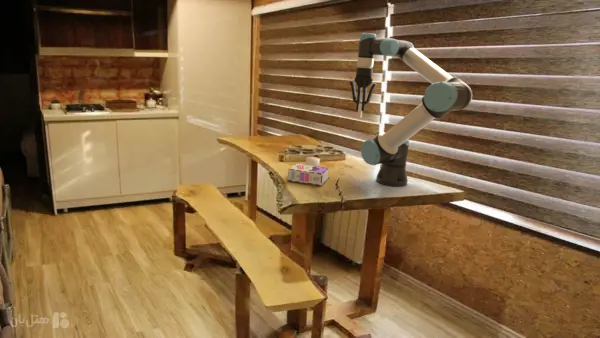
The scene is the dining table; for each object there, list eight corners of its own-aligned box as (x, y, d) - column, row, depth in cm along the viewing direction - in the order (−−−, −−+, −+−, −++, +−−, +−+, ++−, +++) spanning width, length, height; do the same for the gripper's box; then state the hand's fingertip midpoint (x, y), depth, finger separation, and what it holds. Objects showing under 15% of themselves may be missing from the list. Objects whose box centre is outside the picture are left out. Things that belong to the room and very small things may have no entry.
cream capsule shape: (320, 171, 239) (322, 158, 237) (315, 174, 233) (316, 160, 231) (308, 169, 242) (309, 156, 240) (302, 171, 235) (304, 158, 234)
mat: (329, 178, 227) (329, 177, 226) (316, 186, 210) (316, 185, 210) (306, 174, 231) (306, 173, 231) (292, 181, 215) (292, 181, 214)
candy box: (322, 173, 208) (287, 168, 212) (321, 186, 210) (287, 181, 214) (328, 167, 222) (295, 162, 225) (327, 179, 223) (294, 174, 227)
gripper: (380, 68, 218) (374, 118, 223) (353, 66, 223) (348, 115, 228) (376, 68, 211) (370, 119, 217) (349, 66, 216) (344, 116, 221)
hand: (359, 117), depth 222 cm, fingers closed
